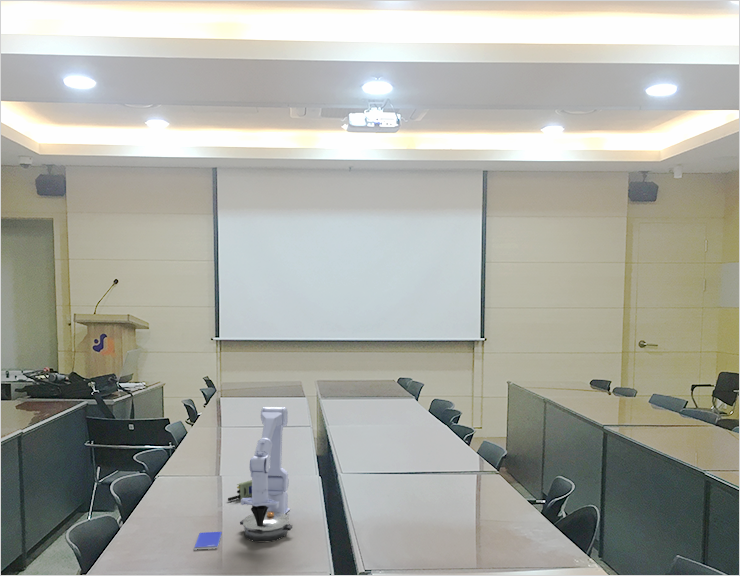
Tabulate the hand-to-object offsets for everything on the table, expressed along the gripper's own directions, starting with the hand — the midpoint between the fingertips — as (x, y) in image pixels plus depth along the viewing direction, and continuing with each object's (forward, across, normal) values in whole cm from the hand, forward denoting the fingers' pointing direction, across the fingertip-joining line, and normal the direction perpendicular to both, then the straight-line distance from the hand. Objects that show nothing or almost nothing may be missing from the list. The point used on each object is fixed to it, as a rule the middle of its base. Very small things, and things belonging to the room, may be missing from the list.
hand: (260, 525), depth 224 cm
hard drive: (+6, -17, -8) cm, 19 cm away
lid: (+1, 0, +4) cm, 4 cm away
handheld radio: (+5, -23, +40) cm, 46 cm away
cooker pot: (+5, 0, +5) cm, 7 cm away
